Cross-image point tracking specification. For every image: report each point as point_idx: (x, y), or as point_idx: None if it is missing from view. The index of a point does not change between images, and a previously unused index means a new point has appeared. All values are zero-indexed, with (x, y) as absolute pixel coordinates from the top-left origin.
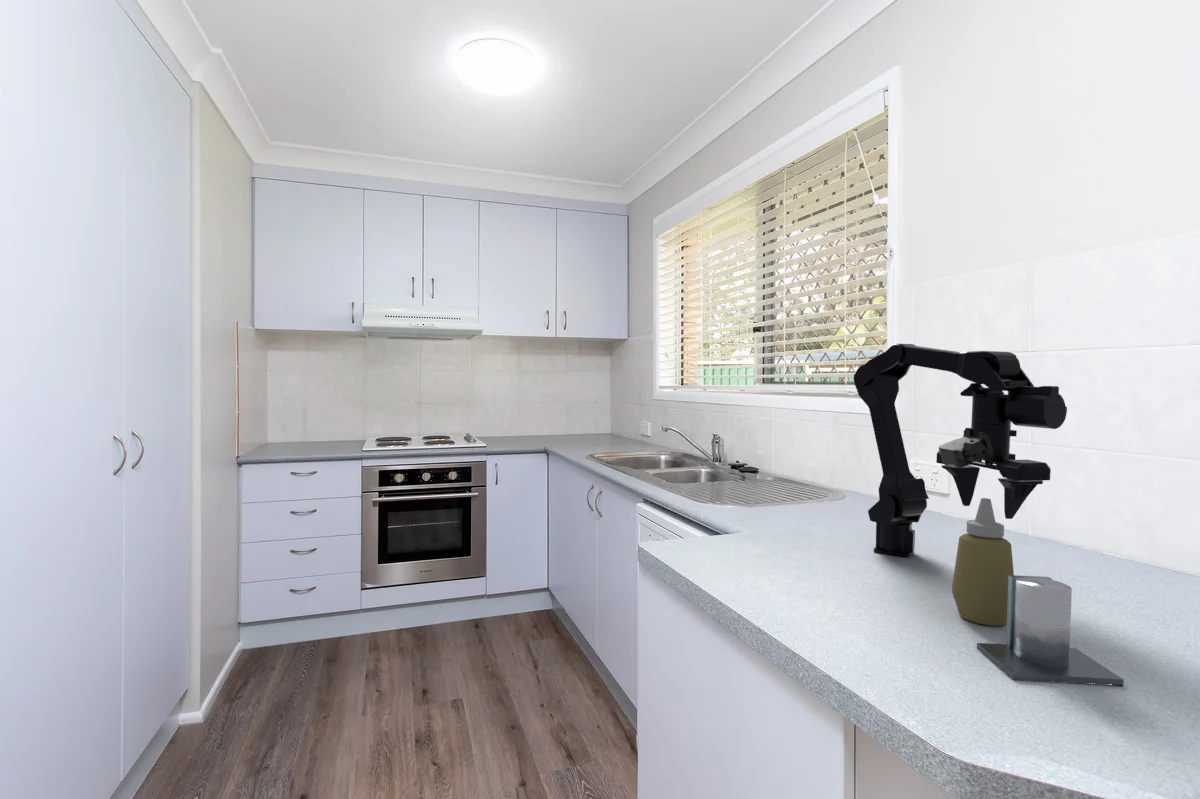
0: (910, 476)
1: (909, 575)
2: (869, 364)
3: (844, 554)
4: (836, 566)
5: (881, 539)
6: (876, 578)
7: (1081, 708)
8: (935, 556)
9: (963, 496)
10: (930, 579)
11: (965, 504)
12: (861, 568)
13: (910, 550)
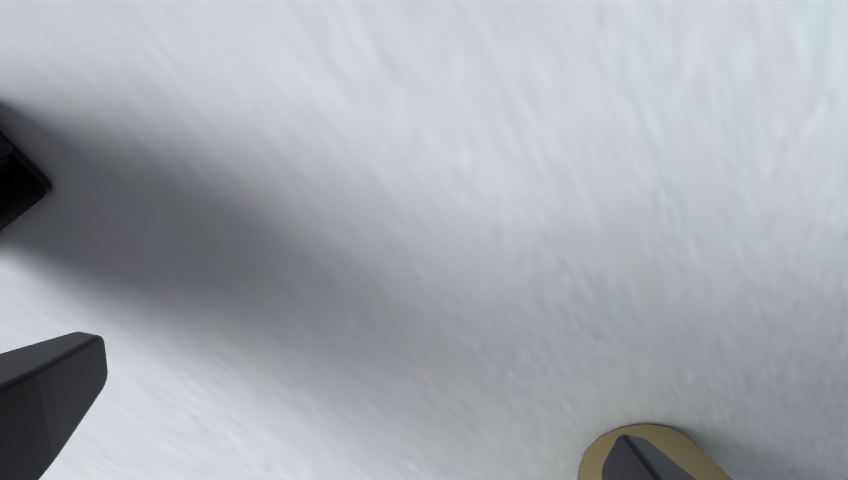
0: None
1: (272, 352)
2: None
3: None
4: (145, 469)
5: None
6: (275, 453)
7: None
8: (25, 18)
9: (35, 477)
10: (328, 325)
11: (96, 383)
12: (174, 425)
13: (2, 157)
